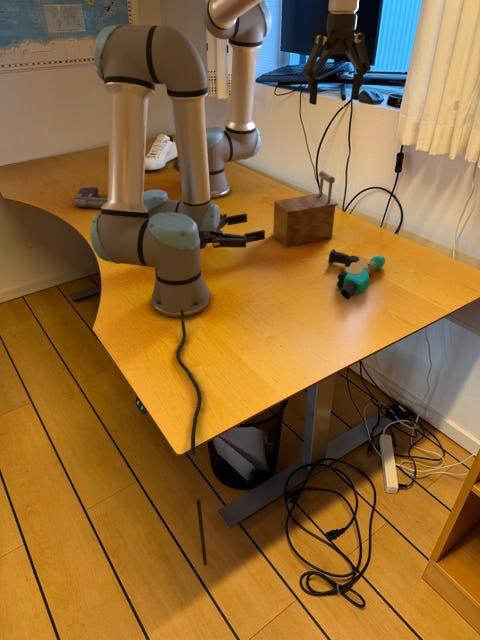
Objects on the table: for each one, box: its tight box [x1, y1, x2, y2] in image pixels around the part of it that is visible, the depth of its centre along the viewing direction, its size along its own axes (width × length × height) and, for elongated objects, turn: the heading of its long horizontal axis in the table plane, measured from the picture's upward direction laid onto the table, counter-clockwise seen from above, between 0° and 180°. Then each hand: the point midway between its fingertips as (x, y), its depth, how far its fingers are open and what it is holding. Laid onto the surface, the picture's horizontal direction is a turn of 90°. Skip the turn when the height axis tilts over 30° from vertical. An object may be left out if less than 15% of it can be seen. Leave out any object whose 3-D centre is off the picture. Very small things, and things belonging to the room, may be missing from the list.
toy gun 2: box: [328, 248, 386, 301], centre depth 133 cm, size 4×26×15 cm
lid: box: [273, 170, 339, 215], centre depth 148 cm, size 18×10×9 cm, turn 112°
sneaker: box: [145, 133, 178, 171], centre depth 214 cm, size 10×29×12 cm, turn 163°
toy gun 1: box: [71, 186, 108, 209], centre depth 180 cm, size 4×19×15 cm
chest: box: [272, 203, 336, 248], centre depth 153 cm, size 17×10×11 cm, turn 112°
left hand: (255, 225), depth 149 cm, fingers open, 13 cm apart
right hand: (333, 101), depth 135 cm, fingers open, 13 cm apart
